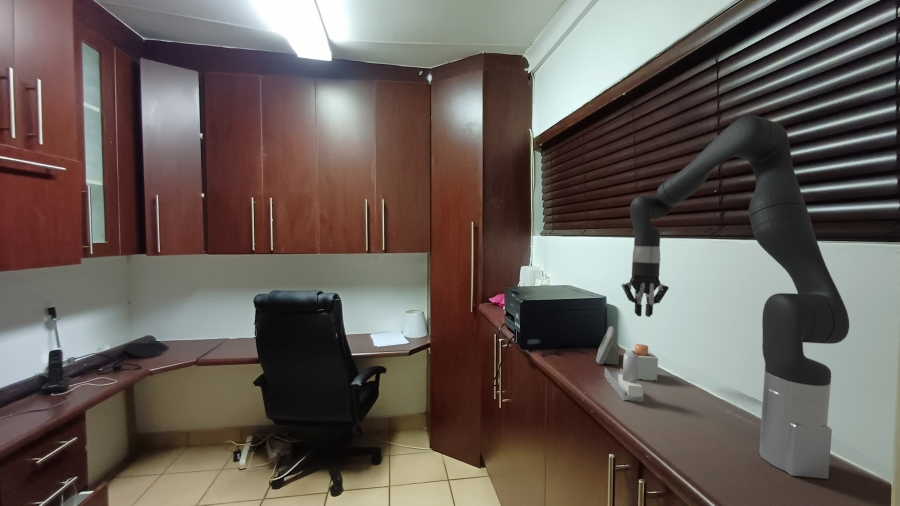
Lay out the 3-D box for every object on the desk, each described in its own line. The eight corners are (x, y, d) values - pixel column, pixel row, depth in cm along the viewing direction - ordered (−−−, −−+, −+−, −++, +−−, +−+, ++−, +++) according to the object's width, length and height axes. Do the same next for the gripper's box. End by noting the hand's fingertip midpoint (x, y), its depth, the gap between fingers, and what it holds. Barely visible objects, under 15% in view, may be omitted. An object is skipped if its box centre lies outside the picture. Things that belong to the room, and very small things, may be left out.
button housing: (656, 380, 111) (658, 358, 111) (632, 379, 112) (633, 356, 112) (647, 372, 118) (648, 350, 118) (624, 370, 119) (625, 349, 118)
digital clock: (599, 351, 139) (600, 323, 138) (625, 356, 133) (626, 327, 133) (587, 362, 126) (588, 332, 125) (615, 369, 120) (616, 337, 120)
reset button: (649, 357, 113) (650, 348, 112) (637, 356, 113) (637, 347, 113) (645, 353, 116) (645, 344, 116) (633, 353, 117) (633, 343, 116)
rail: (643, 401, 96) (643, 391, 96) (623, 400, 97) (623, 390, 97) (621, 377, 113) (621, 368, 113) (604, 376, 114) (604, 367, 114)
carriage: (642, 396, 95) (643, 360, 95) (627, 395, 96) (629, 359, 95) (630, 384, 103) (632, 350, 103) (617, 383, 104) (619, 349, 103)
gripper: (664, 260, 116) (661, 314, 117) (618, 259, 118) (616, 312, 119) (675, 262, 108) (672, 320, 109) (626, 261, 110) (624, 317, 111)
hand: (643, 315), depth 114 cm, fingers closed
